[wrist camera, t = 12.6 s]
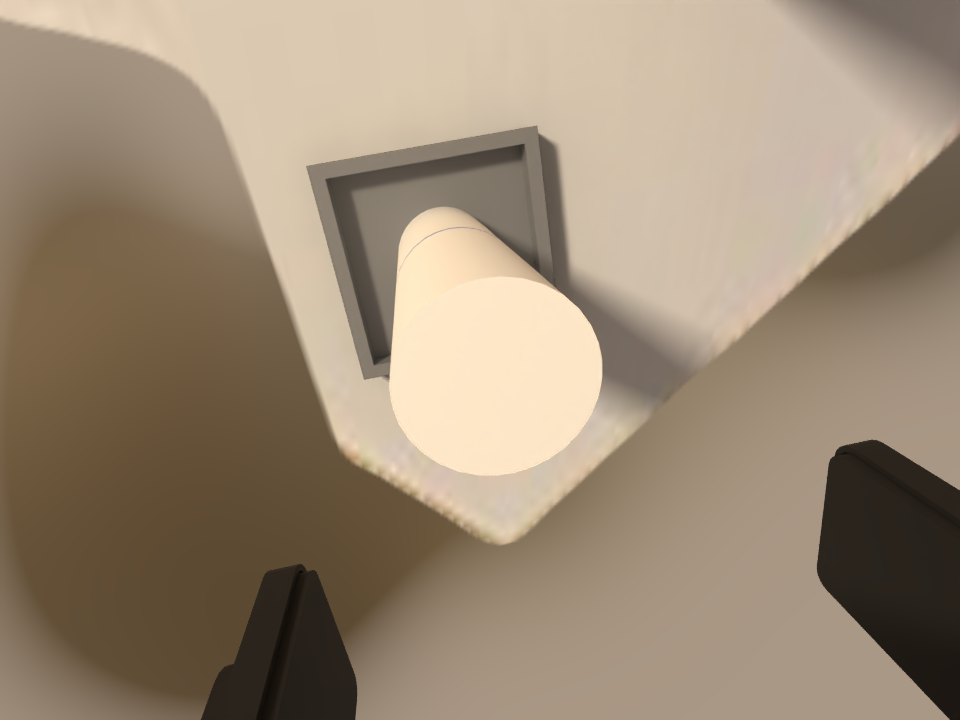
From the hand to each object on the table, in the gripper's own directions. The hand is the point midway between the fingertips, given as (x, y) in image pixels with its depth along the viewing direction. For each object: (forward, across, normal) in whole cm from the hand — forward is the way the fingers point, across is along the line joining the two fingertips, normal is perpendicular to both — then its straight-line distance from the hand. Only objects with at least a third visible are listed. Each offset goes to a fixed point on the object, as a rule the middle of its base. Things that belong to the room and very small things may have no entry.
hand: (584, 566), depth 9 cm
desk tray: (+34, +1, +1) cm, 34 cm away
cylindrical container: (+34, 0, +1) cm, 34 cm away
